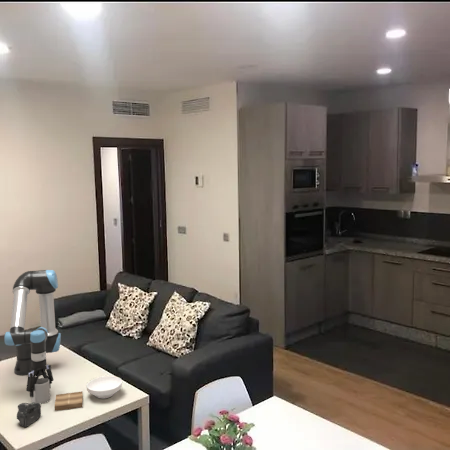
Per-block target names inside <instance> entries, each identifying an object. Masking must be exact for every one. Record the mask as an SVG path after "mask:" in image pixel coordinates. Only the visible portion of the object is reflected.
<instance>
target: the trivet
mask: <svg viewBox="0 0 450 450" xmlns="http://www.w3.org/2000/svg"><path fill="white" fill-rule="evenodd" d="M83 393H84V392H83V391H74V392H73V391H72V392H66V393H58V394H55V400H54V411H55V412H58V411H65V410H71V409H72V410H73V409H81V408H83V404H84V403H83V399H84V398H83V397H84V396H83Z"/></svg>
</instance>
